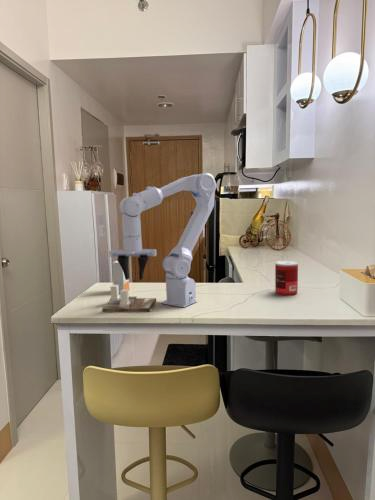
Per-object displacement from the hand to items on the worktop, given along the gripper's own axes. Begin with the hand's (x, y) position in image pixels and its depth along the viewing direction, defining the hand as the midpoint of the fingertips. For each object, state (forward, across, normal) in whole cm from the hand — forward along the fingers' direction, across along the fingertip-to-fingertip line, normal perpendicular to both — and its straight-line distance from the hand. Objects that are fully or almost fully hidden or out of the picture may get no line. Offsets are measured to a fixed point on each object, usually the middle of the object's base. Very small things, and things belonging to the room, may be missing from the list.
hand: (134, 278), depth 116 cm
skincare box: (+10, -10, +22) cm, 26 cm away
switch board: (+10, -2, +3) cm, 11 cm away
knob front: (+9, -3, 0) cm, 9 cm away
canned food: (+10, +50, +19) cm, 55 cm away
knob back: (+8, -8, +6) cm, 14 cm away
